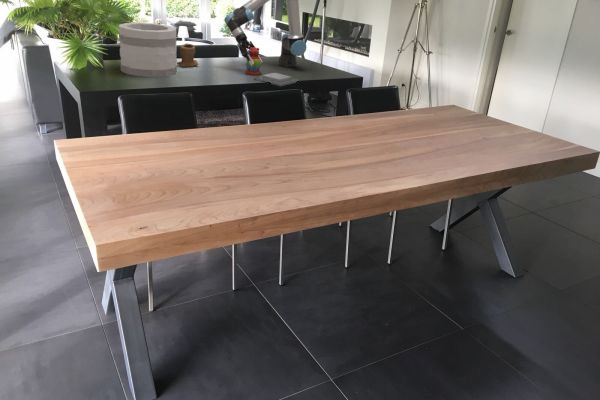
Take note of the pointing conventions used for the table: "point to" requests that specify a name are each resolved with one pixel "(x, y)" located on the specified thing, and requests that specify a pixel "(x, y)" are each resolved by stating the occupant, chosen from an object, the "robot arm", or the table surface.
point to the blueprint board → (277, 79)
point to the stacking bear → (255, 67)
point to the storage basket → (148, 49)
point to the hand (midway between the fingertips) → (256, 63)
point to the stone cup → (187, 55)
